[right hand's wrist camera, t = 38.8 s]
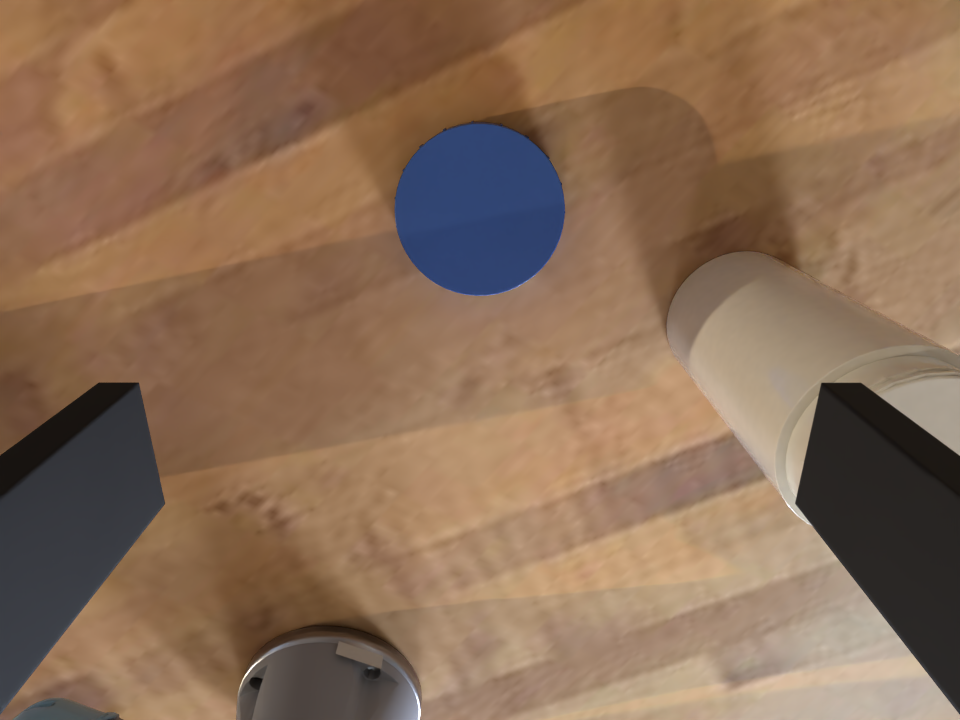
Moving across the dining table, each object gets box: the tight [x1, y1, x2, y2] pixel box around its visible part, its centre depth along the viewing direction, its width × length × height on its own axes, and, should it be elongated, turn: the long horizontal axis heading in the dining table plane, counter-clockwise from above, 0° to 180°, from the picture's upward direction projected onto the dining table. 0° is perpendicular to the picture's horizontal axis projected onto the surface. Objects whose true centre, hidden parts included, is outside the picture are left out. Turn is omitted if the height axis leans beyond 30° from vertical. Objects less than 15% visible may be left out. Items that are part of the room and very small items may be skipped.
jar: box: [667, 251, 960, 528], centre depth 34 cm, size 9×9×19 cm
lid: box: [395, 121, 565, 296], centre depth 39 cm, size 10×10×2 cm
